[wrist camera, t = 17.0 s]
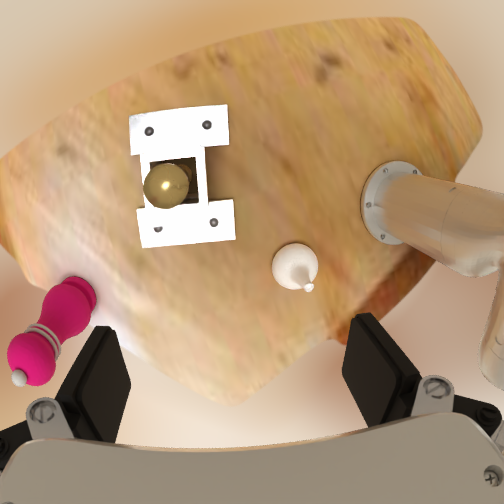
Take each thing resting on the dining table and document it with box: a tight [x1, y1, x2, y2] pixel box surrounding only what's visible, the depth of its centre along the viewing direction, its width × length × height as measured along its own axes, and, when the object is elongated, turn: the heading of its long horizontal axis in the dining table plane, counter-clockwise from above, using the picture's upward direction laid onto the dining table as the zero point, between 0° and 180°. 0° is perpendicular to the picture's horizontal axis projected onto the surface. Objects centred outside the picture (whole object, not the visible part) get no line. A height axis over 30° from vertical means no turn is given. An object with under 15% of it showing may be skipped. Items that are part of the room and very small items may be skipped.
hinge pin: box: [143, 163, 192, 209], centre depth 29 cm, size 4×4×13 cm
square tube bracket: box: [137, 147, 235, 248], centre depth 32 cm, size 12×12×8 cm
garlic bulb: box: [272, 243, 318, 292], centre depth 38 cm, size 6×6×8 cm
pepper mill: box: [7, 277, 96, 387], centre depth 29 cm, size 7×7×20 cm
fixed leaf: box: [129, 105, 229, 199], centre depth 33 cm, size 12×11×4 cm
